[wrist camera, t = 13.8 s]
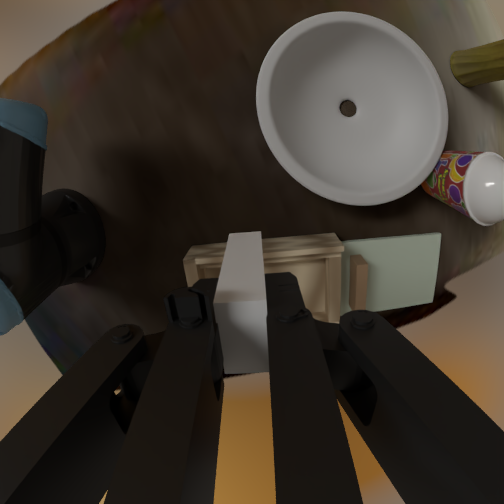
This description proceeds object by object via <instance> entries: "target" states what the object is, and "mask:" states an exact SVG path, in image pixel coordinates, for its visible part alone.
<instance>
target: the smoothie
mask: <svg viewBox="0 0 504 504" xmlns="http://www.w3.org/2000/svg"><path fill="white" fill-rule="evenodd" d="M421 186H422V187H423V189H424V190H425V192H427V193H428V194H429V195H431V196H432V197H434V198H436V199H438V200H440V201H441V202H443V203H445V204H447V205H448V206H450V207H452V208H454V209H455V210H457V211H459V212H461V213H462V214H464V215H466V216H467V217H469V218H470V219H472V220H474V221H475V222H476V223H478V224H480V225H483V226H491V225H493V224H495V223H498V222H501V221H502V220H504V159H503V158H502V157H501V156H500V155H498V154H496V153H495V152H470V151H443V152H442V154H441V156H440V159H439V161H438V163H437V164H436V166H435V168H434V169H433V171H432V172H431V173H430V175H429V176H428V177H427V178H426V179H425V180H424V181H423V182H422V183H421Z"/></svg>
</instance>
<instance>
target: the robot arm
mask: <svg viewBox="0 0 504 504" xmlns="http://www.w3.org/2000/svg"><path fill="white" fill-rule="evenodd" d="M47 125H48V118H47V114H46V112H45V111H44V110H43V109H42V108H41V107H39V106H37V105H34V104H30V103H26V102H21V101H16V100H10V99H4V98H0V335H4V334H6V333H7V332H9V331H10V330H11V329H12V328H14V327H15V326H16V325H19V324H20V323H21V322H22V321H23V320H24V319H25V318H26V317H27V316H28V315H29V314H30V313H31V312H32V311H33V310H34V309H35V308H36V307H37V306H38V305H40V304H41V303H42V302H43V301H44V300H45V299H46V298H47V297H48V296H49V295H50V294H51V293H52V292H54V291H55V290H56V289H57V288H58V287H60V286H64V285H68V284H72V283H76V282H80V281H82V280H84V279H86V278H87V277H88V276H89V275H90V274H92V273H93V272H94V271H95V270H96V269H97V268H98V266H99V265H100V263H101V261H102V258H103V255H104V251H105V233H104V228H103V225H102V222H101V219H100V217H99V215H98V213H97V211H96V209H95V208H94V206H93V205H92V204H91V203H90V202H89V201H88V200H87V199H86V198H85V197H84V196H83V195H81V194H80V193H78V192H76V191H73V190H70V189H57V190H54V191H51V192H48V193H46V194H44V195H43V196H42V183H43V170H44V160H45V151H46V150H47V145H46V135H47ZM163 299H164V303H165V307H166V312H167V316H168V320H169V324H168V326H167V329H166V331H163V332H160V333H156V334H151V335H146V336H144V333H143V330H142V329H141V328H140V327H139V326H137V325H134V324H123V325H119V326H117V327H114V328H112V329H110V330H109V331H108V332H106V333H105V334H104V335H103V336H102V337H101V338H100V339H99V340H98V341H97V342H96V343H95V344H94V345H93V346H92V347H91V348H90V349H89V350H88V351H87V352H86V353H85V354H84V355H83V356H82V357H81V358H80V359H79V360H78V361H77V362H76V363H75V364H74V365H73V366H72V367H71V368H70V369H69V370H68V371H67V372H66V373H65V374H64V375H63V376H62V377H61V378H60V379H59V380H58V381H57V382H56V383H55V384H54V385H53V386H52V387H51V388H50V389H49V390H48V391H47V392H46V393H45V394H44V395H43V396H42V397H41V398H40V400H38V402H37V403H36V404H35V405H34V406H33V407H32V408H31V409H30V410H29V411H28V412H27V413H26V414H25V415H24V416H23V418H21V420H20V421H19V422H18V423H17V424H16V425H15V426H14V427H13V428H12V429H11V431H9V433H8V434H7V435H6V436H5V437H4V438H3V439H2V440H1V441H0V504H99V502H100V501H101V499H102V498H103V496H104V494H105V493H106V491H107V490H108V491H107V494H106V498H105V501H104V504H213V501H214V489H215V477H216V467H217V456H218V445H219V434H220V423H221V413H222V403H223V392H224V381H223V376H222V370H223V366H224V371H225V374H239V373H259V372H269V374H270V392H271V409H272V427H273V446H274V466H275V485H276V486H275V487H276V504H363V501H362V497H361V493H360V488H359V484H358V480H357V476H356V471H355V467H354V463H353V459H352V456H351V452H350V447H349V444H348V440H347V436H346V432H345V428H344V424H343V420H342V417H341V413H340V409H339V406H338V402H337V399H338V401H339V403H340V404H341V406H342V407H343V409H344V410H345V412H346V414H347V415H348V417H349V418H350V420H351V421H352V423H353V424H354V426H355V427H356V429H357V431H358V432H359V434H360V435H361V437H362V438H363V440H364V441H365V443H366V444H367V446H368V447H369V449H370V450H371V452H372V454H373V455H374V457H375V458H376V460H377V461H378V463H379V464H380V466H381V467H382V469H383V470H384V472H385V473H386V475H387V476H388V478H389V479H390V481H391V482H392V484H393V486H394V487H395V489H396V490H397V492H398V493H399V495H400V496H401V498H402V499H403V501H404V502H405V504H504V432H503V430H502V429H501V428H500V427H499V426H498V425H497V424H496V423H495V422H494V421H493V420H492V419H491V418H490V417H489V416H488V415H487V414H485V412H484V411H483V410H482V409H481V408H479V406H477V405H476V404H475V403H474V402H473V401H472V400H471V399H470V398H469V397H468V396H467V395H466V394H465V393H464V392H463V391H462V390H461V389H460V388H459V387H458V386H457V385H456V384H455V383H454V382H453V381H452V380H451V379H449V378H448V377H447V376H446V375H445V374H444V373H443V372H442V371H441V370H440V369H439V368H438V367H437V366H436V365H435V364H434V363H432V362H431V361H430V360H429V359H428V358H427V357H426V356H425V355H424V354H423V353H422V352H421V351H419V350H418V349H417V348H416V347H415V346H414V345H413V344H412V343H411V342H410V341H409V340H407V339H406V338H405V337H404V336H403V335H402V334H401V333H400V332H399V331H398V330H396V329H395V328H394V327H393V326H392V325H391V324H390V323H389V322H388V321H386V320H385V319H384V318H383V317H382V316H380V315H379V314H377V313H375V312H372V311H369V310H353V311H349V312H347V313H345V314H343V315H342V316H341V317H340V321H339V323H329V322H323V321H319V320H316V319H315V318H313V316H312V313H311V312H310V310H309V309H307V308H306V307H305V304H304V301H303V297H302V294H301V290H300V287H299V284H298V280H297V277H296V276H295V275H293V274H292V273H291V272H280V273H266V274H264V263H263V251H262V239H261V231H259V232H245V233H232V234H229V237H228V241H227V245H226V250H225V254H224V258H223V262H222V267H221V271H220V275H219V278H205V279H199V280H198V281H197V282H196V283H194V284H193V286H192V287H183V288H179V289H176V290H173V291H171V292H170V293H168V294H167V295H166V296H165V297H164V298H163ZM119 385H120V387H121V389H122V390H121V391H120V392H119V393H118V394H117V395H116V394H115V393H114V391H115V390H116V388H117V387H118V386H119Z"/></svg>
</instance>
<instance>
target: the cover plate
mask: <svg viewBox="0 0 504 504" xmlns="http://www.w3.org/2000/svg"><path fill="white" fill-rule="evenodd" d="M341 242H342V244H343V245H344V251H342V252H341V302H340V316H342V315H343V314H345V313H347V312H349V311H353V310H369V311H372V312H375V311H382V310H389V309H395V308H401V307H408V306H414V305H419V304H425V303H431V302H433V296H434V290H435V284H436V277H437V269H438V261H439V253H440V243H441V233H427V234H416V235H405V236H393V237H382V238H371V239H360V240H349V241H341Z"/></svg>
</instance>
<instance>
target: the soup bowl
mask: <svg viewBox="0 0 504 504" xmlns="http://www.w3.org/2000/svg"><path fill="white" fill-rule="evenodd" d="M345 100H350V101H352V102H353V103H354V104H355V105H356V108H357V111H356V114H355V115H354V116H352V117H345V116H344V115H342V114H341V112H340V109H339V107H340V104H341V102H343V101H345ZM256 107H257V114H258V119H259V123H260V127H261V129H262V132H263V135H264V137H265V140H266V142H267V144H268V146H269V148H270V149H271V151H272V153H273V155H274V156H275V157H276V159H277V160H278V162H279V163H280V164H281V165H282V167H283V168H284V169H285V170H286V171H287V172H288V173H289V174H290V175H291V176H292V177H293V178H294V179H295V180H297V181H298V182H299V183H300V184H302V185H303V186H304V187H306V188H307V189H309V190H310V191H312V192H314V193H316V194H318V195H320V196H322V197H324V198H327V199H329V200H332V201H335V202H338V203H343V204H348V205H357V206H368V205H378V204H383V203H387V202H390V201H393V200H396V199H398V198H401V197H403V196H404V195H406V194H408V193H410V192H411V191H412V190H414V189H415V188H417V187H418V186H419V185H420V184H421V183H422V182H423V181H424V180H425V179H426V178H427V177H428V176H429V175H430V173H431V172H432V171H433V169H434V168H435V166H436V164H437V163H438V161H439V159H440V156H441V154H442V152H443V149H444V146H445V142H446V138H447V132H448V106H447V100H446V95H445V91H444V88H443V85H442V82H441V80H440V77H439V75H438V73H437V71H436V69H435V67H434V66H433V64H432V63H431V61H430V59H429V58H428V57H427V55H426V54H425V53H424V51H423V50H422V49H421V48H420V47H419V46H418V45H417V44H416V43H415V42H414V41H413V40H412V39H411V38H410V37H408V36H407V35H406V34H405V33H403V32H402V31H401V30H399V29H398V28H396V27H394V26H393V25H391V24H389V23H387V22H385V21H383V20H380V19H378V18H375V17H372V16H369V15H365V14H361V13H354V12H330V13H323V14H319V15H316V16H312V17H310V18H307V19H305V20H303V21H301V22H299V23H297V24H295V25H294V26H292V27H291V28H289V29H288V30H287V31H286V32H285V33H283V34H282V35H281V36H280V37H279V38H278V39H277V41H276V42H275V43H274V44H273V46H272V47H271V48H270V50H269V52H268V53H267V55H266V57H265V59H264V61H263V64H262V66H261V69H260V72H259V76H258V81H257V88H256Z"/></svg>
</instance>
